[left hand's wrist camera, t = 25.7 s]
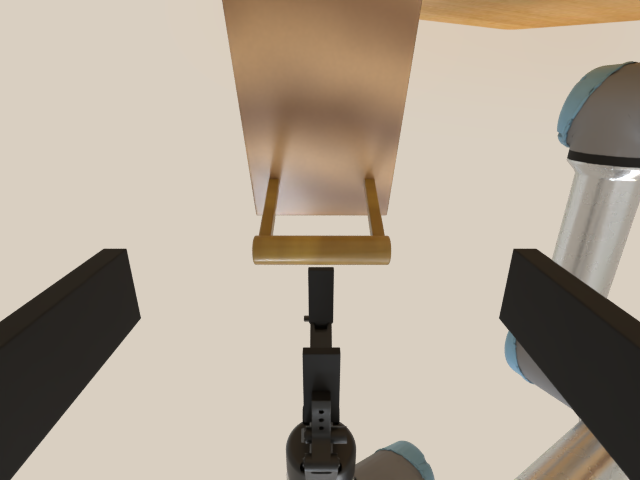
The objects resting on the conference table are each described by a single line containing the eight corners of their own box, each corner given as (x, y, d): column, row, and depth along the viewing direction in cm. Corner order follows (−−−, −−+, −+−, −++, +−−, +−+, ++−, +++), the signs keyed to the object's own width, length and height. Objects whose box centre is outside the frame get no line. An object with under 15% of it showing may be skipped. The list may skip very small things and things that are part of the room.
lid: (385, 206, 28) (402, 294, 22) (258, 206, 28) (241, 294, 22) (421, -27, 18) (471, 19, 12) (222, -27, 18) (172, 20, 12)
